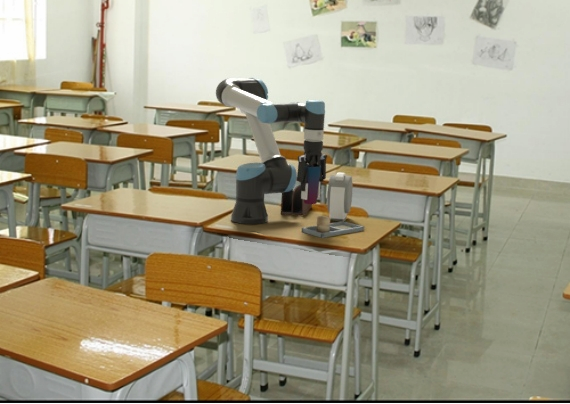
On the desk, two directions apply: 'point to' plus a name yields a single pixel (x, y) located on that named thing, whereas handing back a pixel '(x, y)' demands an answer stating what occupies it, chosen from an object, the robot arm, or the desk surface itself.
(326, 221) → the beech sleeve
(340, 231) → the gray divided tray
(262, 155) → the robot arm
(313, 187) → the cup
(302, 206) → the letter holder
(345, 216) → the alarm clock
